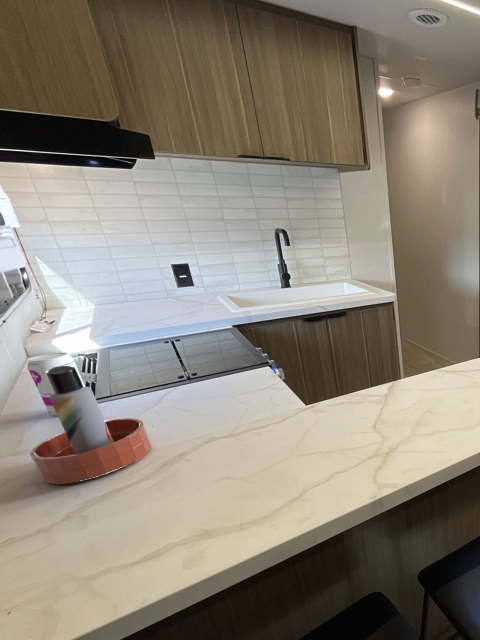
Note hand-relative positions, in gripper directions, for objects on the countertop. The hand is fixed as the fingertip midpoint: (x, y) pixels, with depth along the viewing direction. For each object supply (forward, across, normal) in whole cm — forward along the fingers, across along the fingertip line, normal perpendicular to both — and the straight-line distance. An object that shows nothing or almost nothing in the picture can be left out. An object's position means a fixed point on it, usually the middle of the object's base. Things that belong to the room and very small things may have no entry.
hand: (13, 295), depth 75 cm
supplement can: (+34, -32, -4) cm, 47 cm away
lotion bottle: (+33, +10, +4) cm, 35 cm away
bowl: (+33, +10, +4) cm, 35 cm away
